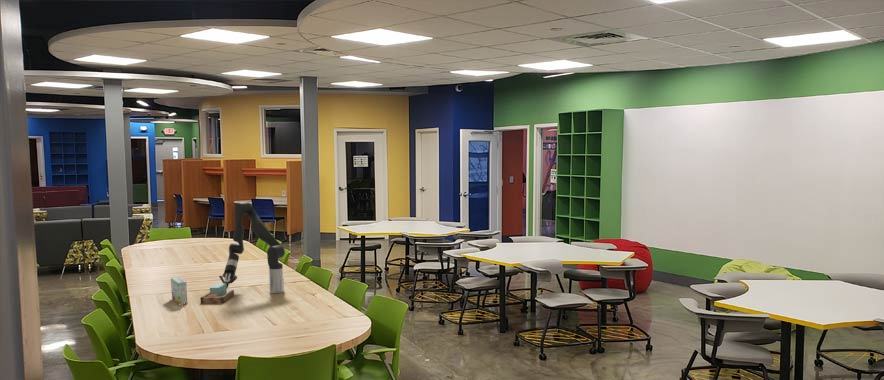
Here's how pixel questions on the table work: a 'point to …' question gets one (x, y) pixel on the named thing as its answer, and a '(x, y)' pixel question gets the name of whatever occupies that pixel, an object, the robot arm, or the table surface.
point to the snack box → (179, 290)
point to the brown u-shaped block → (217, 298)
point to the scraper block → (219, 289)
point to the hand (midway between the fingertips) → (225, 287)
